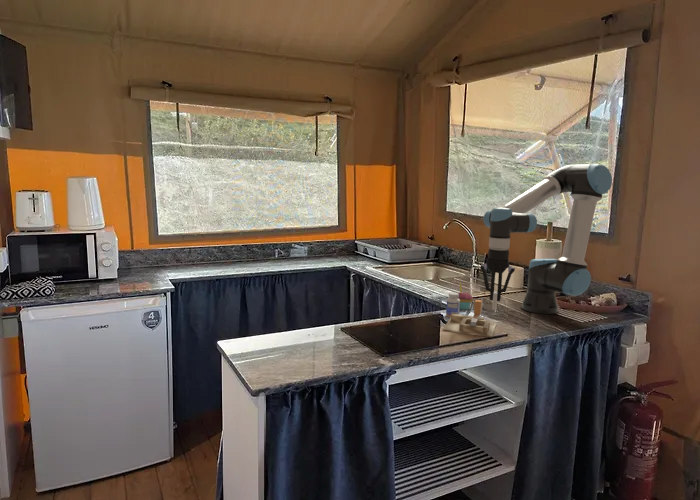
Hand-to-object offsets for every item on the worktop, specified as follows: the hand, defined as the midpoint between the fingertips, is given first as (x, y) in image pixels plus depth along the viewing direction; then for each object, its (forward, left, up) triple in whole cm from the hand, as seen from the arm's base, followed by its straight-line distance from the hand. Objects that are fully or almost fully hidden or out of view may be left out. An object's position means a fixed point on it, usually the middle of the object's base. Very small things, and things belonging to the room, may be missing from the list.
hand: (494, 308), depth 187 cm
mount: (+8, +4, -7) cm, 12 cm away
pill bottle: (+17, -9, -8) cm, 21 cm away
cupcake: (+15, -24, -8) cm, 29 cm away
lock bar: (+6, +6, -4) cm, 9 cm away
